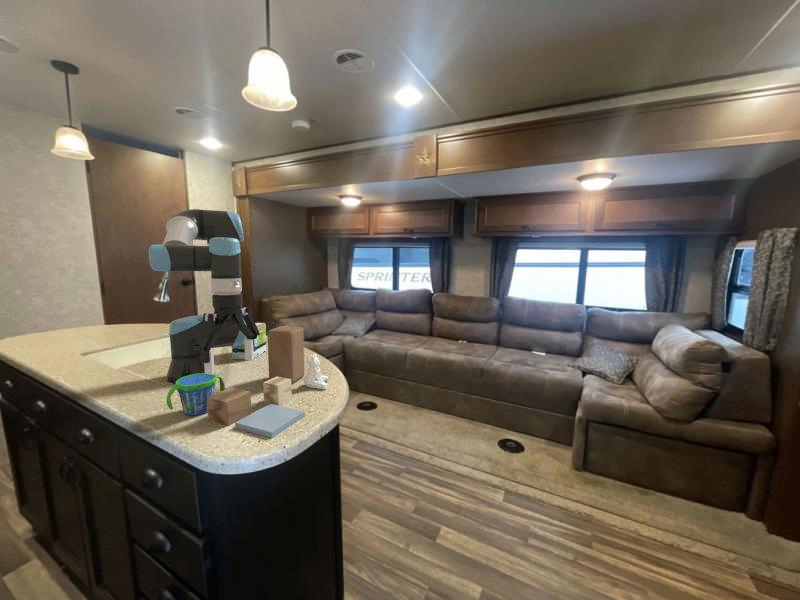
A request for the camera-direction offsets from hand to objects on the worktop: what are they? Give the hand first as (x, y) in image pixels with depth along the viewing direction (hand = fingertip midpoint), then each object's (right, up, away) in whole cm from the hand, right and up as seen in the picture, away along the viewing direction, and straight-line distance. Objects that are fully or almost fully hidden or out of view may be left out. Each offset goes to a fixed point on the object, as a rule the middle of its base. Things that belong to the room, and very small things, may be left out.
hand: (230, 366), depth 95 cm
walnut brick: (-1, -15, +1) cm, 15 cm away
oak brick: (+9, -14, +12) cm, 21 cm away
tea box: (-23, -8, +63) cm, 67 cm away
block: (+5, -12, +32) cm, 34 cm away
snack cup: (-12, -15, +5) cm, 20 cm away
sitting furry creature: (+18, -13, +26) cm, 34 cm away
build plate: (+12, -15, -1) cm, 20 cm away
